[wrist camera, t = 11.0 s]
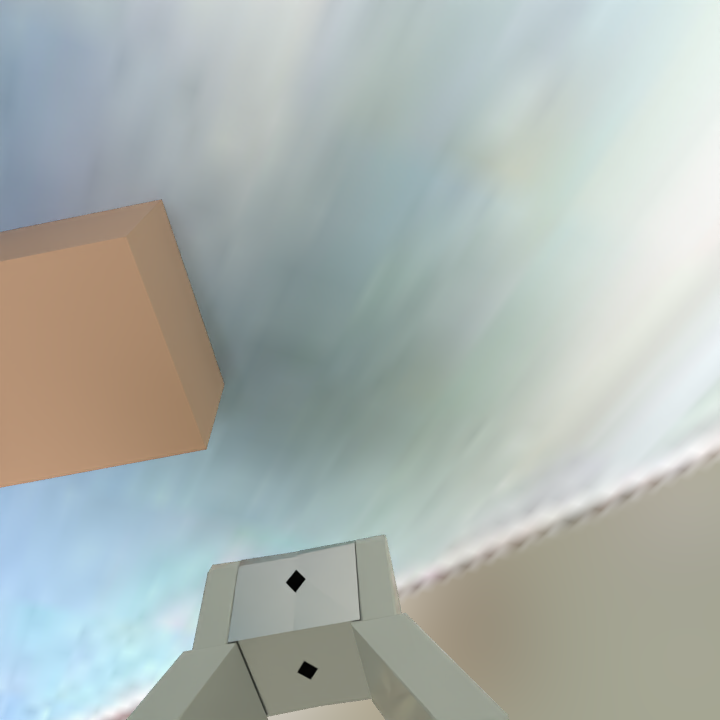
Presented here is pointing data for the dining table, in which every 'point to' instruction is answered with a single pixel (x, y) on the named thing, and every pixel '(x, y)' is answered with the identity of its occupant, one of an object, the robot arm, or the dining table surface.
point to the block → (100, 346)
